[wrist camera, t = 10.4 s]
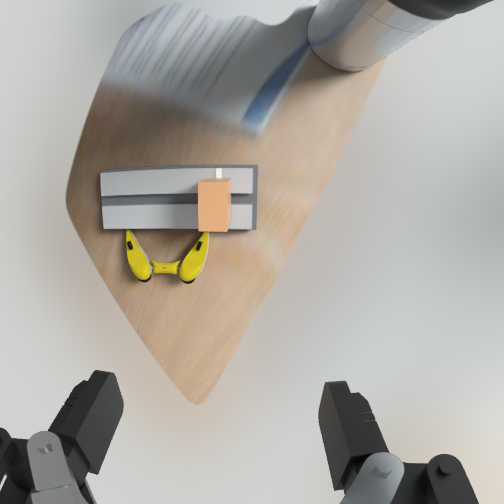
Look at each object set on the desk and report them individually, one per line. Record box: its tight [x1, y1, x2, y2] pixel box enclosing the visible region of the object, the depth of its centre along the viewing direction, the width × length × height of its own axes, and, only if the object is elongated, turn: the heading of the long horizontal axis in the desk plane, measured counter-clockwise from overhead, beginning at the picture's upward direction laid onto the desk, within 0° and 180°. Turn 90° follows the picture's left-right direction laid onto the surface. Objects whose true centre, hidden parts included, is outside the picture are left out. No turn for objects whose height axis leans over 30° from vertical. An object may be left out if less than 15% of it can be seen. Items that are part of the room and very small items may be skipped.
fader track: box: [100, 165, 258, 230], centre depth 33 cm, size 18×7×3 cm, turn 89°
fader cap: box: [198, 178, 231, 232], centre depth 30 cm, size 3×4×6 cm, turn 179°
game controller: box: [126, 229, 210, 284], centre depth 35 cm, size 10×6×4 cm, turn 89°
